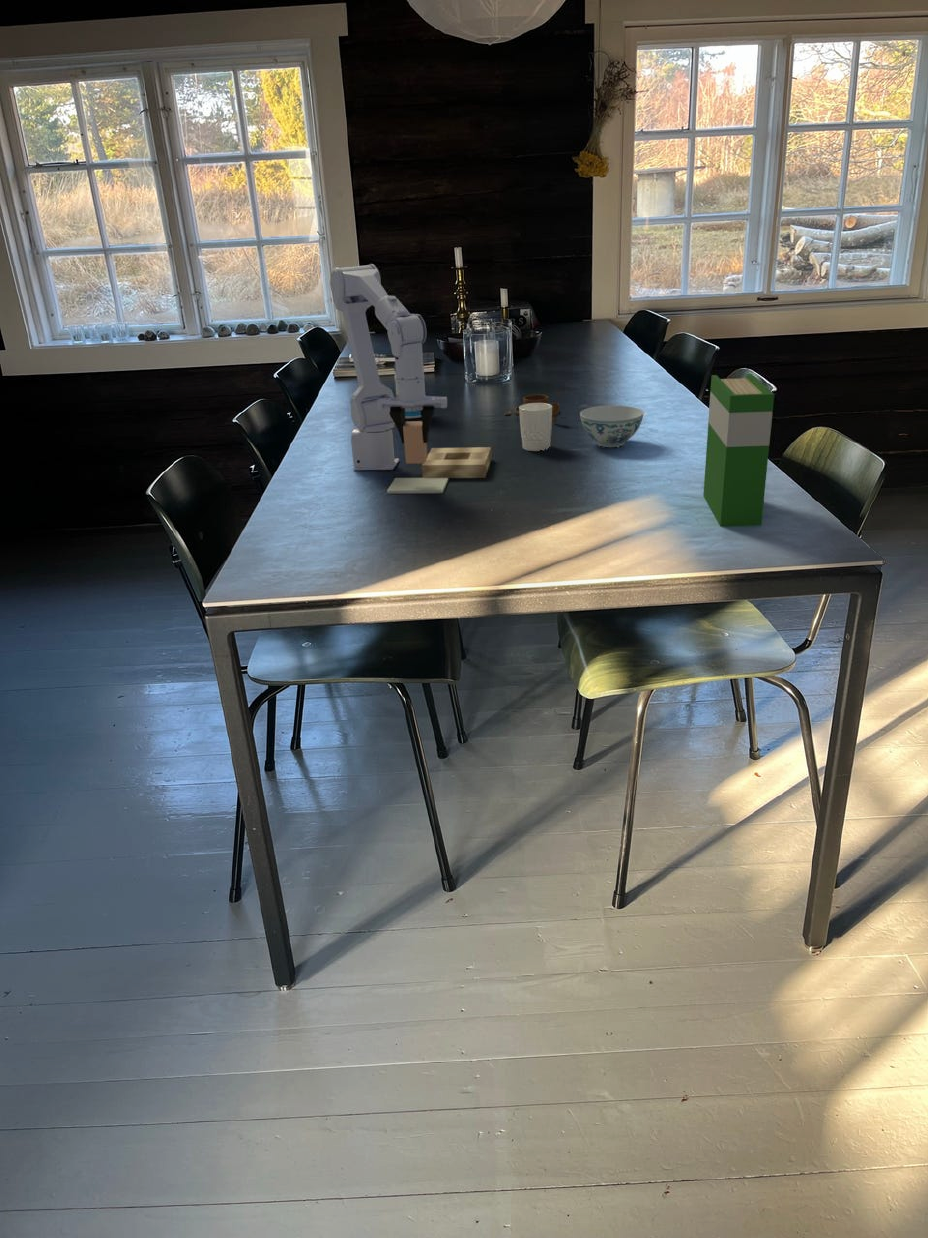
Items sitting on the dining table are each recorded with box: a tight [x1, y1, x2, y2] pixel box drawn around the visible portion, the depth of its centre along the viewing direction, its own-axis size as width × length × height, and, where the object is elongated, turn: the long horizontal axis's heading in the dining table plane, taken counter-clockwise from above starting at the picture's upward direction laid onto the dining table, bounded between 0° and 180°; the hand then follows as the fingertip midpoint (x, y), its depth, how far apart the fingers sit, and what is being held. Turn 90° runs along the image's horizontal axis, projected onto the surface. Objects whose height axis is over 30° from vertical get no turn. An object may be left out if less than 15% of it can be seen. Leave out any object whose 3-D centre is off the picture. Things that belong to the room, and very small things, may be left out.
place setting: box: [504, 394, 560, 424], centre depth 250 cm, size 18×20×6 cm
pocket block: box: [421, 446, 492, 479], centre depth 209 cm, size 14×14×3 cm
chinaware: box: [579, 405, 645, 448], centre depth 220 cm, size 15×15×8 cm
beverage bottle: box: [393, 364, 426, 419], centre depth 254 cm, size 8×8×20 cm
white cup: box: [519, 403, 553, 452], centre depth 220 cm, size 8×8×10 cm
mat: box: [386, 477, 449, 494], centre depth 199 cm, size 12×9×1 cm
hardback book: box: [703, 373, 775, 527], centre depth 171 cm, size 18×7×24 cm, turn 177°
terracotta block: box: [403, 420, 428, 464], centre depth 195 cm, size 4×4×8 cm
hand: (415, 441), depth 194 cm, fingers closed on terracotta block, 4 cm apart
